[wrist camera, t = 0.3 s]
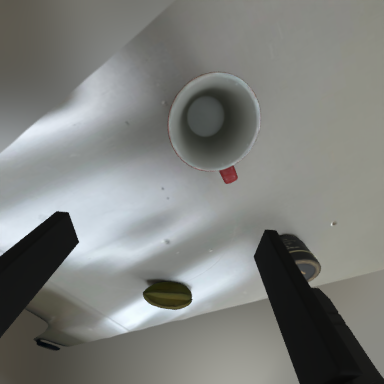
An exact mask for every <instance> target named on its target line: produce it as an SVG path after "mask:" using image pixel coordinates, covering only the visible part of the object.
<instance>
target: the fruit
mask: <svg viewBox="0 0 384 384" xmlns="http://www.w3.org/2000/svg"><path fill="white" fill-rule="evenodd" d="M143 296H144V299H145V300H146V301H147V302H148V303H149V304H151V305H153V306H157V307H160V308H164V309H172V310H177V309H181V308H184V307H186V306H188V305H189V304H190V303H191V302H192V300H193V299H191V298H192V294H191V291H190V290H189V289H188V288H187V287H186V286H184V285H182V284H180V283H175V282H159V283H156V284H153V285H151V286H150V287H148V288H147V289H146V290H145V291H144V292H143Z"/></svg>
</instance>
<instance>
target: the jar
mask: <svg viewBox="0 0 384 384" xmlns="http://www.w3.org/2000/svg"><path fill="white" fill-rule="evenodd" d="M280 238H281V239H282V241H283V243H284V244H285V246H286V247H287V249H288V251H289V252H290V254H291V256H292V257H293V259H294V261H295V262H296V264H297V266H298V267H299V269H300V271H301V272H302V274H303V276H304V277H305V279H306V280H307V282H310V281H311V280H313V279H314V278H316V277H317V276H318V274H319V273H320V271H321V266H320V264H319V262H318V260H317V259H316V257H315V256H314V255H313V254H312V253H311V252H310V250H309V249H308V248H307V247H306V245H305V244H304V243H303V242H302V241H301V240H299V239H298V238H296V237H294V236H289V235H284V236H280Z"/></svg>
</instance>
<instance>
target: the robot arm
mask: <svg viewBox="0 0 384 384" xmlns="http://www.w3.org/2000/svg"><path fill="white" fill-rule="evenodd" d="M78 243H79V241H78V238H77V235H76V232H75V229H74V226H73V224H72V221H71V218H70V215H69V212H59V211H56V212H55V213H54V214H53V215H51V216H50V217H49V218H48V219H46V220H45V221H44V222H43V223H41V224H40V225H39V226H38V227H36V228H35V229H34V230H33V231H31V232H30V233H29V234H28V235H26V236H25V237H24V238H23V239H21V240H20V241H19V242H18V243H16V244H15V245H14V246H13V247H11V248H10V249H9V250H8V251H6V252H5V253H4V254H3V255H1V256H0V338H1V336H2V335H3V334H4V333H5V331H6V330H7V329H8V328H9V327H10V325H11V324H12V323H13V322H14V320H15V319H16V318H17V317H18V316H19V314H20V313H21V312H22V311H23V309H24V308H25V307H26V306H27V305H28V304H29V302H30V301H31V300H32V299H33V297H34V296H35V295H36V294H37V293H38V291H39V290H40V289H41V288H42V287H43V285H44V284H45V283H46V282H47V281H48V279H49V278H50V277H51V276H52V274H53V273H54V272H55V271H56V270H57V268H58V267H59V266H60V265H61V264H62V262H63V261H64V260H65V259H66V257H67V256H68V255H69V254H70V253H71V251H72V250H73V249H74V248H75V247H76V245H77V244H78ZM254 259H255V262H256V264H257V267H258V270H259V273H260V275H261V278H262V281H263V284H264V286H265V289H266V292H267V295H268V298H269V300H270V303H271V306H272V308H273V311H274V314H275V317H276V320H277V322H278V325H279V328H280V331H281V333H282V336H283V339H284V342H285V344H286V347H287V349H288V353H289V355H290V358H291V361H292V363H293V367H294V369H295V372H296V374H297V377H298V380H299V383H300V384H384V378H383V377H382V376H381V375H380V373H379V372H378V371H377V369H376V368H375V366H374V365H373V363H372V362H371V360H370V359H369V357H368V356H367V354H366V353H365V351H364V350H363V348H362V347H361V345H360V344H359V342H358V341H357V339H356V338H355V336H354V335H353V333H352V332H351V330H350V329H349V327H348V326H347V325H346V324H345V322H344V320H343V319H342V317H341V315H340V314H338V311H337V309H336V308H335V306H334V305H333V303H332V302H331V300H330V299H329V298H328V297H327V296H326V295H325V294H324V293H323V292H322V291H321V290H320V289H319V288H311V287H310V285H309V284H308V282H307V280H306V279H305V277H304V276H303V274H302V272H301V271H300V269H299V267H298V266H297V264H296V262H295V261H294V259H293V257H292V256H291V254H290V252H289V251H288V249H287V247H286V246H285V244H284V243H283V241H282V239H281V238H280V236H279V234H278V233H277V231H275V230H265V231H264V233H263V236H262V238H261V241H260V243H259V245H258V248H257V250H256V253H255V255H254Z"/></svg>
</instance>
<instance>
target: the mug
mask: <svg viewBox="0 0 384 384" xmlns="http://www.w3.org/2000/svg"><path fill="white" fill-rule="evenodd" d="M260 124H261V111H260V106H259V102H258V99H257V97H256V95H255V93H254V92H253V90H252V89H251V87H250V86H249V85H248V84H247V83H246V82H245V81H244V80H242V79H241V78H239V77H238V76H235V75H233V74H230V73H226V72H210V73H206V74H203V75H200V76H198V77H196V78H194V79H193V80H191V81H190V82H188V83H187V84H186V85H185V86H184V87H183V88H182V89H181V90H180V91H179V93H178V94H177V96H176V97H175V99H174V101H173V103H172V105H171V108H170V112H169V116H168V134H169V139H170V142H171V144H172V147H173V149H174V151H175V152H176V154H177V155H178V156H179V157H180V159H181V160H182V161H184V162H185V163H186V164H188V165H189V166H191V167H193V168H195V169H198V170H202V171H219V172H220V174H221V176H222V178H223V180H224V182H225V183H226V184H229V183H232V182H234V181H235V180H237V179H238V176H237V173H236V171H235V168H234V166H233V165H234V164H236V163H238V162H239V161H240V160H241V159H243V158H244V157H245V156H246V155H247V153H248V152H249V151H250V150H251V148H252V147H253V145H254V143H255V141H256V139H257V136H258V133H259V129H260Z"/></svg>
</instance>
